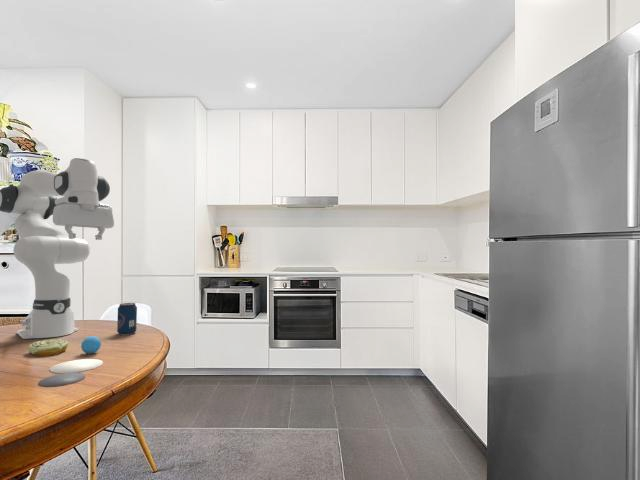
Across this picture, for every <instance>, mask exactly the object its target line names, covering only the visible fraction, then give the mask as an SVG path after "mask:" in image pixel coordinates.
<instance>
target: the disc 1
mask: <svg viewBox="0 0 640 480" xmlns="http://www.w3.org/2000/svg"><path fill="white" fill-rule="evenodd" d="M85 378H86V375H85V374H84V373H83V372H76V373H57V374H53V375H50V376H47V377H44V378H42V379H40V380H39V381H38V385H39V386H40V387H45V388H47V387H48V388H51V387H53V388H54V387H55V388H56V387H61V386H68V385H72V384H75V383H78V382H81V381H82V380H84V379H85Z"/></svg>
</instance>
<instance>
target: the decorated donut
mask: <svg viewBox="0 0 640 480" xmlns="http://www.w3.org/2000/svg"><path fill="white" fill-rule="evenodd" d="M68 343H69V342H68V341H67V340H66V339H60V338H58V339H57V338H51V339H49V338H48V339H44V340H38V341H34V342H33V343H31V344H29V345H28V351H29V353H30V354H31V355H32V356H36V357H50V356H54V355H58V354H62V353H63V352H65V351H66V350H67V349H68V346H69V344H68Z"/></svg>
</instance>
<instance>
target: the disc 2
mask: <svg viewBox="0 0 640 480" xmlns="http://www.w3.org/2000/svg"><path fill="white" fill-rule="evenodd" d="M103 364H104V361H103V360H101V359H96V358H95V359H94V358H83V359H82V358H81V359H75V360H69V361H63V362H61V363H58V364H54V365H53V366H50V368H49V371H50V372H51V373H53V374H54V373H55V374H64V373H83V372H87V371H91V370H93V369H97V368H99V367H101V366H102V365H103Z"/></svg>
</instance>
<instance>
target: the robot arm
mask: <svg viewBox="0 0 640 480" xmlns="http://www.w3.org/2000/svg"><path fill="white" fill-rule="evenodd" d="M97 170H98V169H97V165H96V163H95V161H93V160H90V159H87V158H78V157H76V158H72V159H70V162H69V165H68V167H67V168H66V169H65V170H64V171H61V172H58V173H56V172H52V171H48V170H42V169H39V170H37V169H36V170H32V171H29V172H26V173H25V174H23V176H21V179H20V180H19V181H20V182H19V185H14V184H13V183H11V184H9V185H8V186H5V187H2V188H1V189H0V212H3V213H6V214H7V213H8V214H18V216H17V217H16V219H15V220H14V227H15V231H16V233H17V234H18V235H19V237H20V238H19V239H18V240H17V241H16V242H15V243H14V246H13V255H14V257H15V259H16V260H17V261H18V262H20V263H21V264H23V265H24V266H25V267H26V268H27V269H28V270H29V271H30V272H31V275H32V276H33V279H34V288H35V290H34V291H35V293H34V294H35V298H34V300H33V303H32V308H31V309H32V310H31V311H30V312H29V314H28V315H27V316H26V317H25V318H24V319H22V320H21V321H20V322H21V323H20V324H21V326H22V327H24V328H23V329H18V330H17V332H16V334H17V335H18V336H19V337H20V338H21V339H22V340H23V339H24V340H25V339H28V340H29V339H45V338H46V339H47V338H48V339H49V338H55V337H62V336H67V335H70V334H73V333H74V332H76V331H79V330H78V327H75V313H74V312H75V311H73V310H72V309H71V308H70V307H71V304H72V301H71V297H70V286H71V283H70V279H69V277H68V276H67V275H66V274H64V273H62V272H58V270H56V267H55V265H60V264H61V265H62V264H63V265H65V264H66V265H67V264H75V263H76V264H77V263H81V262H84V261H86V260H87V259H88V257H89V256H90V252H91V250H90V249H91V247H90V245H89V243H88V241H86V240H85V239H83V238H79V237H77V236H76V235H77V233H74V231H73V230H72V229H73V227H77V228H78V227H79V228H91V229H97V231H98V233H97V234H95V236H94V237H95V238H94V239H95V240H96V241H99V240H103V234H104V233H105V230H106V229H112V228H113V227H114V226H115V220H114V215H113V208H112V207H111V206H110V205H109V204H104V203H100V202H101V201H103V200H104V199H106V198H107V197H108V195H109V194H110V191H111V188H110V184H109V182H108V181H107V179H106V178H105V177H104V176H101V175H98V171H97ZM59 196H60V197H59ZM57 197H59V198H57ZM51 216H52V223H53V224H54V226H60V227H64V230H65V232H66V233H65V232H63V231H61V230H58V229H55V228H54V227H53V226H52V225H50V223H48V222H47V220H48V219H50V217H51Z"/></svg>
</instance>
